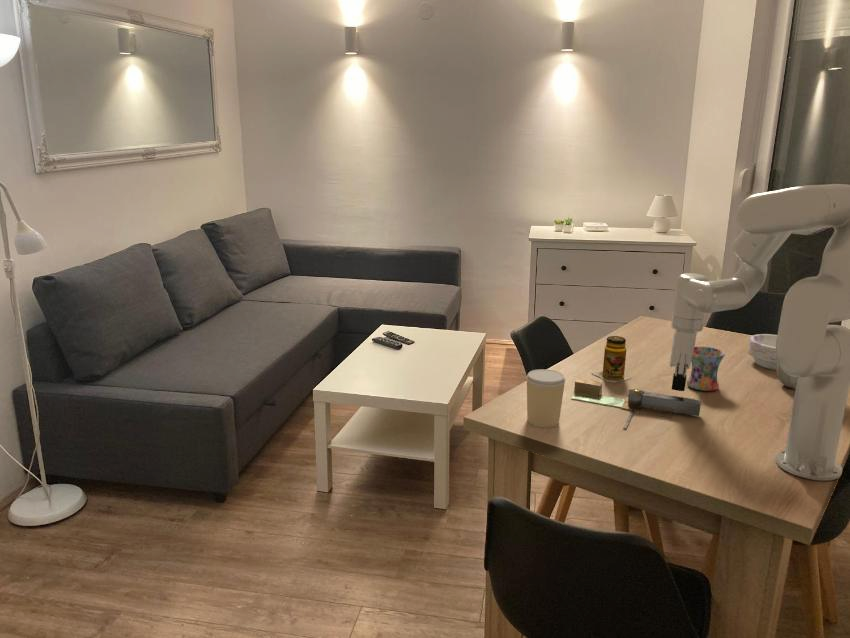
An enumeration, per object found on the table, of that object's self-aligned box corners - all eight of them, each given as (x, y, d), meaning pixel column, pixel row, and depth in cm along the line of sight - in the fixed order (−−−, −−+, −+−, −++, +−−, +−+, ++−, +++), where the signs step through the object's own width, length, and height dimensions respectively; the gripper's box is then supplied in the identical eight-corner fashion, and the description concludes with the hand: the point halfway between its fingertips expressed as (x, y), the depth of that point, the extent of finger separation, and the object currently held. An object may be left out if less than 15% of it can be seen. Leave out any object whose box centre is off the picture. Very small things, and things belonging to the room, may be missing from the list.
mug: (714, 396, 190) (719, 359, 187) (679, 388, 195) (684, 352, 192) (726, 384, 199) (731, 348, 196) (693, 376, 204) (698, 342, 201)
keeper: (623, 408, 181) (624, 396, 180) (569, 398, 186) (570, 387, 186) (628, 398, 188) (629, 386, 187) (576, 389, 193) (577, 378, 192)
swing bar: (626, 404, 181) (627, 391, 180) (629, 399, 184) (630, 386, 183) (698, 417, 174) (700, 403, 173) (700, 411, 177) (701, 397, 176)
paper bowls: (808, 375, 207) (813, 350, 205) (754, 372, 209) (758, 346, 207) (791, 359, 221) (795, 335, 219) (740, 356, 223) (743, 332, 221)
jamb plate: (663, 436, 164) (663, 435, 164) (611, 427, 169) (612, 425, 169) (673, 407, 182) (673, 406, 181) (625, 399, 186) (626, 398, 186)
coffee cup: (567, 418, 174) (571, 373, 171) (554, 432, 166) (557, 384, 163) (532, 410, 179) (535, 366, 175) (518, 423, 171) (520, 377, 168)
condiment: (612, 383, 198) (616, 343, 195) (591, 374, 205) (594, 335, 202) (631, 378, 202) (634, 339, 199) (609, 370, 209) (612, 331, 206)
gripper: (673, 313, 185) (664, 377, 190) (670, 328, 172) (661, 397, 177) (703, 316, 183) (693, 381, 188) (703, 332, 169) (692, 402, 175)
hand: (678, 389), depth 183 cm, fingers closed
